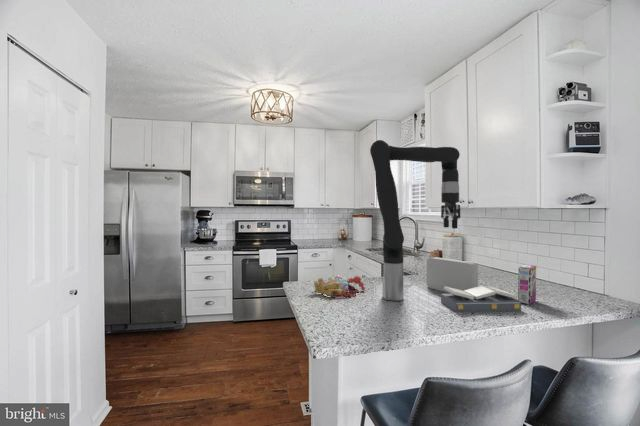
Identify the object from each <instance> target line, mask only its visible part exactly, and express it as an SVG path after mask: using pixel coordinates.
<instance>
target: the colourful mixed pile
mask: <svg viewBox="0 0 640 426" xmlns="http://www.w3.org/2000/svg"><path fill="white" fill-rule="evenodd" d="M327 279H328V281H326V280H325V279H324V280H323V277H322V278H317V280H314V281H313V286H314V289H315V290H316V291H315V292H316V293H317V292H318V293H321V294H326V295H327V296H331V297H336V298H335V299H337V298H342V299H345V298H347V297H348V298H351V297H354V298H356V296H355V295H356V293H359V292H360V290H359V289H355V288H356V287H355V286H354V285H353V283H354V284H357V285H358V286H359V287H360V289H361V290H362V291H365V292H366V286H364V285H365V284H364V282H363V281H362V278H361V276H360V275H355V276H353V277H350V278H348V280H347V279H346V278H345V277H341V275H339V274H337V275H332V276H330V277H328V278H327ZM337 288H338V289H337ZM348 291H349V292H348ZM343 297H345V298H343ZM348 298H347V299H348Z"/></svg>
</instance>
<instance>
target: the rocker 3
mask: <svg viewBox="0 0 640 426" xmlns="http://www.w3.org/2000/svg"><path fill="white" fill-rule="evenodd" d="M484 287H486V288H488V289H491V290H493V291H495V293H497V294H500V295H504V296H508V297H512V298H514V299H517V300H518V295H515V294H514V293H511V292H508V291H505V290H503V289H499V288H496V287H492V286H488V285H484Z"/></svg>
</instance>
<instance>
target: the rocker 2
mask: <svg viewBox="0 0 640 426" xmlns="http://www.w3.org/2000/svg"><path fill="white" fill-rule="evenodd" d="M464 292H466V293H468V294H470V295H472V296H474V298H475V299H480V298H484V297H487V296H491V295H494V294H496V293H495V291H493V290H491V289H488V288H486V287H485V286H483V285H478V287H475V288H471V289H467V290H464Z"/></svg>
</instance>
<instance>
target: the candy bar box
mask: <svg viewBox="0 0 640 426" xmlns="http://www.w3.org/2000/svg"><path fill="white" fill-rule="evenodd" d="M517 284H518V287H517V288H518V291H517V292H518V293H517V294H518V295H517V296H518V298H517V300H519V301H521V305H527V306H530V305H532V304H533V303H534V302H535V301H536V299H537V295H536V293H537V265H532V264H524V265H521V266H518V283H517Z"/></svg>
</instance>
